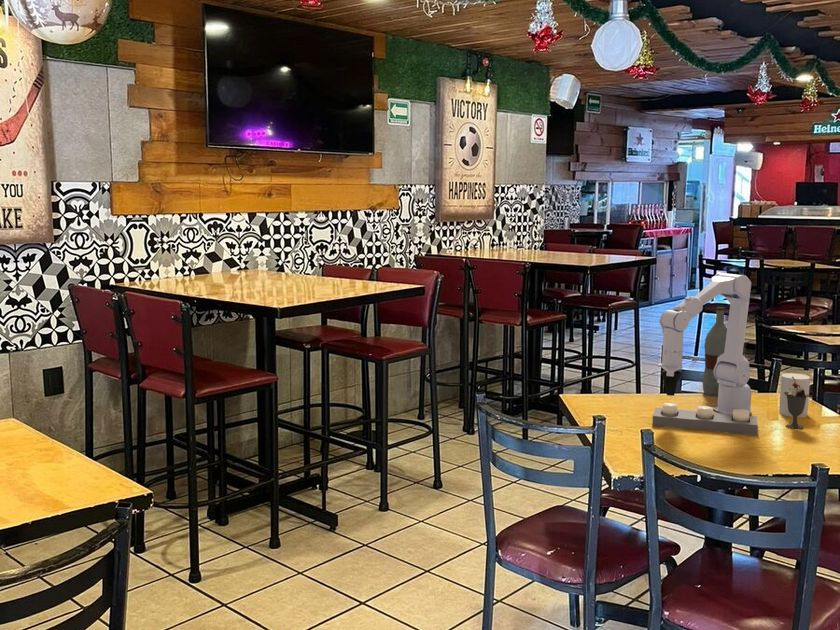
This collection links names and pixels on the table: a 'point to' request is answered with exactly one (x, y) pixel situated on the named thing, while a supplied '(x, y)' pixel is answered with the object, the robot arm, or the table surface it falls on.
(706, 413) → the button mid
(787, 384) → the cup
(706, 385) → the bottle
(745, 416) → the button
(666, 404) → the button
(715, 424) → the control strip
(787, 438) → the table surface
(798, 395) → the sundae
